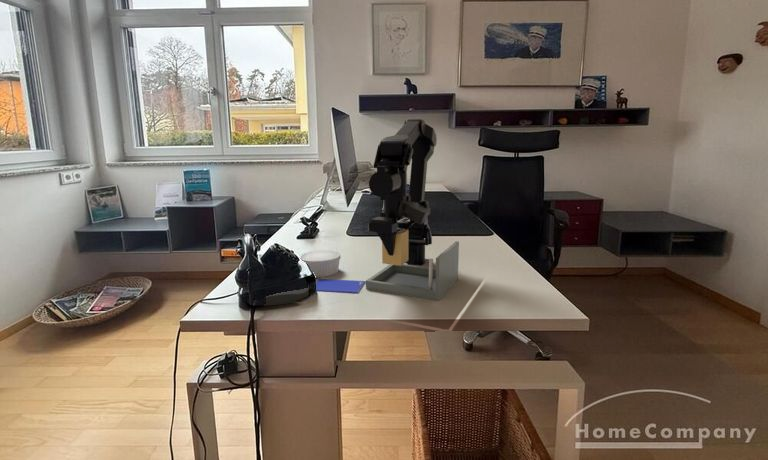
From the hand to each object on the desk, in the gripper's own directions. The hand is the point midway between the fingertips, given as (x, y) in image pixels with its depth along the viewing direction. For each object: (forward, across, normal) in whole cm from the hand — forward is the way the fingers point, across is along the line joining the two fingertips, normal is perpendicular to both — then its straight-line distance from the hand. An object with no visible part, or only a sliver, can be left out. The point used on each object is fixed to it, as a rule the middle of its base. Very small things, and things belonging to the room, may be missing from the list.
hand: (395, 252), depth 107 cm
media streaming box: (+9, -17, +24) cm, 31 cm away
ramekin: (+9, 0, +23) cm, 25 cm away
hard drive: (+9, -8, +12) cm, 18 cm away
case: (+9, +1, -4) cm, 10 cm away
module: (+2, 0, 0) cm, 2 cm away
